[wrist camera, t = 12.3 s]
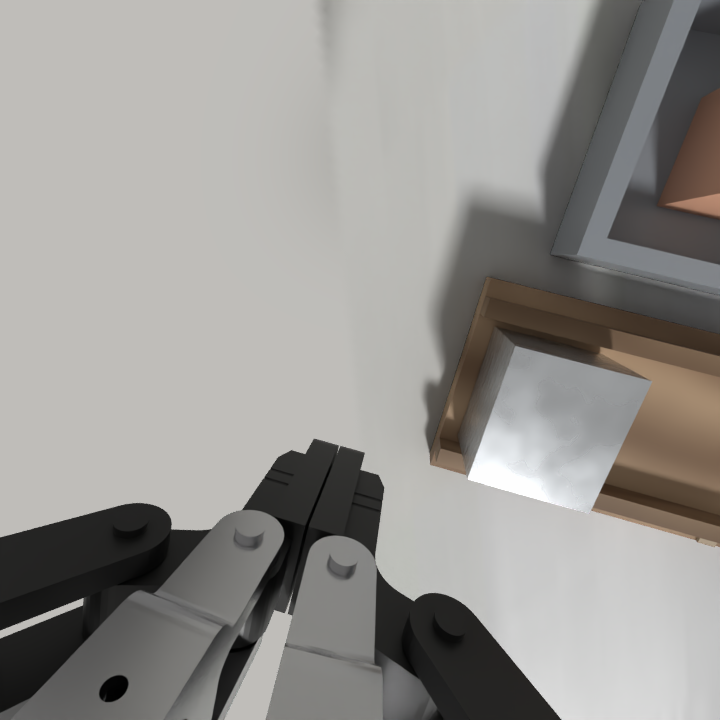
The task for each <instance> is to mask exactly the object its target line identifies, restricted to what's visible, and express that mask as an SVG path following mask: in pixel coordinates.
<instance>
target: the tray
mask: <svg viewBox="0 0 720 720" xmlns="http://www.w3.org/2000/svg"><path fill="white" fill-rule="evenodd" d="M719 88H720V0H644V1H643V2H642V3H641V5H640V7H639V10H638V13H637V16H636V18H635V21H634V24H633V27H632V29H631V32H630V35H629V38H628V40H627V43H626V46H625V49H624V52H623V54H622V57H621V60H620V63H619V65H618V68H617V71H616V74H615V76H614V79H613V82H612V85H611V87H610V90H609V93H608V96H607V99H606V101H605V104H604V107H603V110H602V112H601V115H600V118H599V121H598V123H597V126H596V129H595V132H594V134H593V137H592V140H591V143H590V145H589V148H588V151H587V154H586V157H585V159H584V162H583V165H582V168H581V170H580V173H579V176H578V179H577V181H576V184H575V187H574V190H573V192H572V195H571V198H570V201H569V204H568V206H567V209H566V212H565V215H564V217H563V220H562V223H561V226H560V228H559V231H558V234H557V237H556V239H555V242H554V245H553V248H552V250H551V253H550V255H554V256H558V257H562V258H566V259H570V260H574V261H578V262H583V263H587V264H591V265H595V266H599V267H603V268H608V269H612V270H616V271H620V272H624V273H628V274H632V275H637V276H641V277H645V278H649V279H653V280H657V281H662V282H666V283H670V284H674V285H678V286H682V287H686V288H691V289H695V290H699V291H703V292H707V293H711V294H716V295H720V220H718V219H713V218H709V217H704V216H700V215H695V214H690V213H686V212H681V211H677V210H672V209H668V208H663V207H659V206H657V204H658V201H659V199H660V197H661V194H662V192H663V189H664V187H665V185H666V182H667V180H668V177H669V175H670V173H671V170H672V168H673V165H674V163H675V161H676V158H677V156H678V153H679V151H680V149H681V146H682V144H683V141H684V139H685V137H686V134H687V132H688V129H689V127H690V125H691V122H692V120H693V117H694V115H695V113H696V110H697V108H698V105H699V103H700V101H701V98H702V97H704V96H706V95H708V94H710V93H711V92H713V91H715V90H717V89H719Z"/></svg>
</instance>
